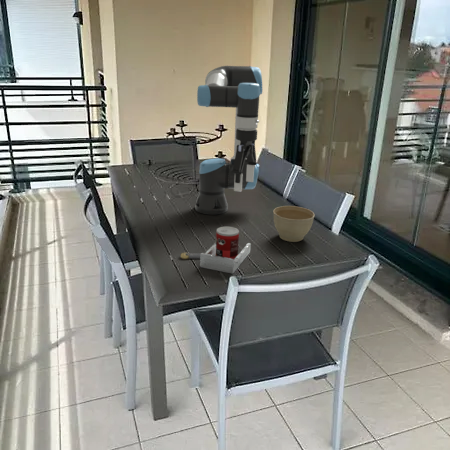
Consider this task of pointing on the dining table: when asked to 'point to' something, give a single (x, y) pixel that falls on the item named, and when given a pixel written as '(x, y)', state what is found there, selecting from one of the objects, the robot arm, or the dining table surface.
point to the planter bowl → (292, 222)
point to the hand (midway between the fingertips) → (243, 186)
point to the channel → (223, 260)
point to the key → (190, 255)
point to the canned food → (227, 242)
